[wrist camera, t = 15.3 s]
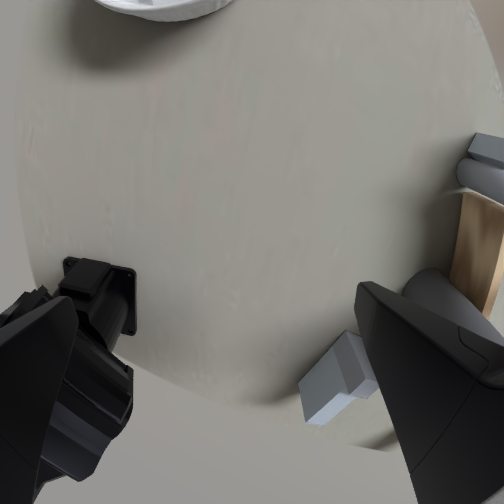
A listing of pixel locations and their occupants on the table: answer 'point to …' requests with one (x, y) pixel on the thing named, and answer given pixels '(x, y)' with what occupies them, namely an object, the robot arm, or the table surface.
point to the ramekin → (165, 8)
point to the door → (479, 252)
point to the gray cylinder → (449, 303)
